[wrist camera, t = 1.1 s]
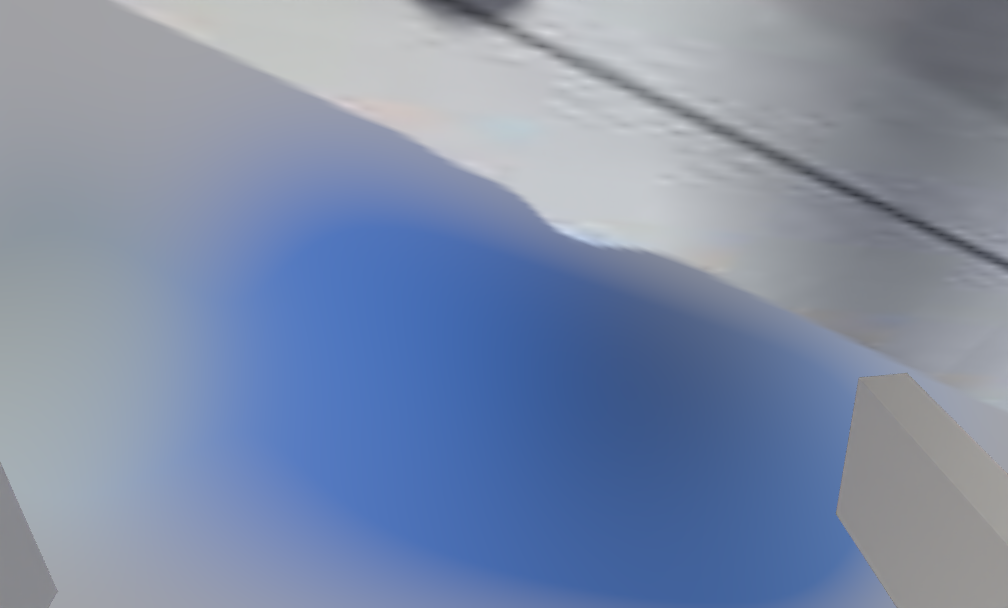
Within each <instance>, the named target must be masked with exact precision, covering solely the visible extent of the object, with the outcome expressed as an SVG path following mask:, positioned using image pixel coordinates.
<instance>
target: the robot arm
mask: <svg viewBox="0 0 1008 608" xmlns="http://www.w3.org/2000/svg"><path fill="white" fill-rule="evenodd" d="M836 515H837V516H838V518H839V519H840V521H841V522H842V524H843V526H844V527H845V529H846V530H847V532H848V533H849V535H850V536H851V538H852V539H853V541H854V542H855V544H856V546H857V547H858V549H859V550H860V551H861V553H862V554H863V556H864V558H865V559H866V561H867V562H868V564H869V566H870V567H871V569H872V570H873V572H874V573H875V575H876V576H877V578H878V579H879V581H880V582H881V584H882V585H883V587H884V589H885V590H886V592H887V593H888V595H889V596H890V598H891V599H892V601H893V602H894V604H895V605H896V607H897V608H1008V474H1007V473H1006V472H1005V471H1004V470H1003V469H1002V468H1001V467H1000V466H999V465H998V464H997V463H996V462H995V461H994V460H993V459H992V458H991V457H990V456H989V455H988V454H987V453H986V452H985V451H984V450H983V449H982V448H981V447H980V446H979V445H978V444H977V443H976V442H975V441H974V440H973V439H972V438H971V437H970V436H969V435H968V434H967V433H966V432H965V431H964V430H963V429H962V428H961V427H960V426H959V425H958V424H957V423H956V422H955V421H954V420H953V419H952V418H951V417H950V416H949V415H948V414H947V413H946V412H945V411H944V410H943V409H942V408H941V407H940V406H939V405H938V404H937V403H936V402H935V401H934V400H933V399H932V398H931V397H930V396H929V395H928V394H927V393H926V392H925V391H924V390H923V389H922V388H921V387H920V386H919V385H918V384H917V383H916V382H915V381H914V380H913V379H912V378H911V377H910V376H909V375H908V374H907V373H903V374H893V375H881V376H871V377H860V378H859V379H858V385H857V391H856V397H855V403H854V409H853V415H852V421H851V427H850V433H849V439H848V445H847V451H846V457H845V463H844V468H843V474H842V480H841V486H840V492H839V499H838V504H837V511H836ZM56 593H57V588H56V586H55V584H54V582H53V580H52V578H51V575H50V574H49V571H48V568H47V566H46V564H45V561H44V560H43V557H42V555H41V553H40V550H39V548H38V546H37V544H36V541H35V539H34V537H33V535H32V532H31V531H30V528H29V526H28V523H27V521H26V519H25V517H24V514H23V512H22V510H21V508H20V505H19V503H18V501H17V499H16V496H15V494H14V492H13V490H12V487H11V485H10V483H9V481H8V478H7V476H6V474H5V472H4V469H3V467H2V465H1V463H0V608H49V606H50V604H51V602H52V601H53V599H54V597H55V595H56Z"/></svg>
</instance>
